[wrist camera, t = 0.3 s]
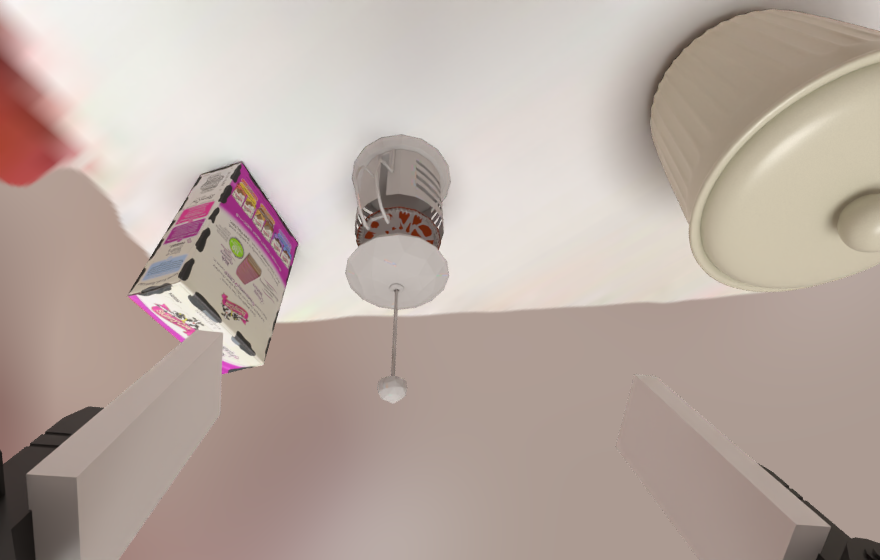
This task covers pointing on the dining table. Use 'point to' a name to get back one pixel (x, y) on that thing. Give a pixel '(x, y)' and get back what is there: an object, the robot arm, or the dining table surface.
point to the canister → (775, 148)
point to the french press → (398, 231)
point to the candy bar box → (221, 267)
